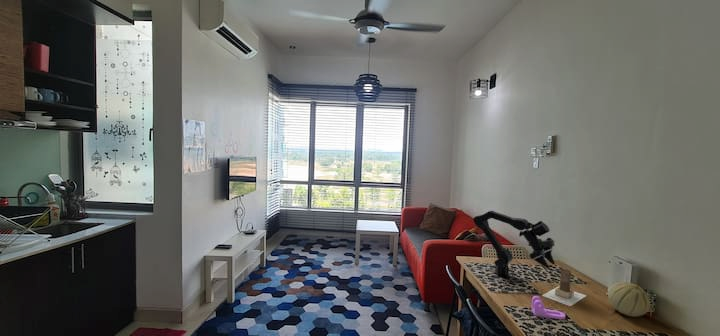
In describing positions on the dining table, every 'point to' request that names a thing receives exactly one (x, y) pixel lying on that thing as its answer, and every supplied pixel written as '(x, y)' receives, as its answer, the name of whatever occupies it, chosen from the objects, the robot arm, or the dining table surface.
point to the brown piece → (565, 285)
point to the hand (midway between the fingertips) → (551, 266)
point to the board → (568, 302)
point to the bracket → (540, 311)
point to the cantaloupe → (629, 299)
